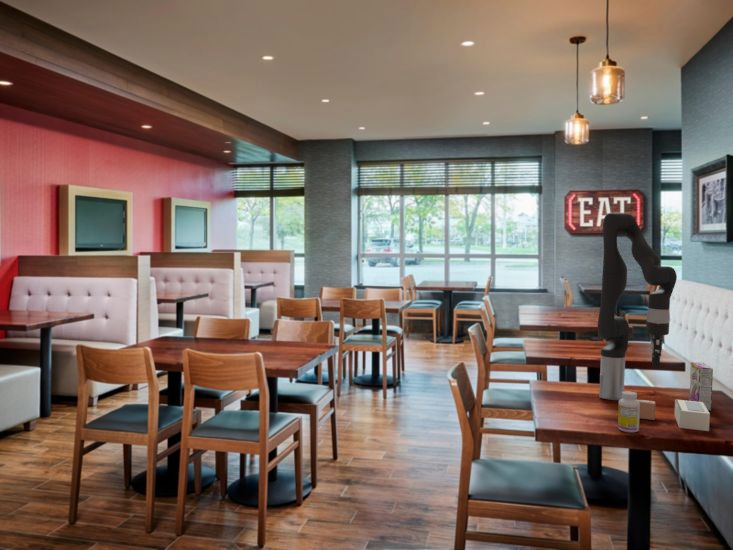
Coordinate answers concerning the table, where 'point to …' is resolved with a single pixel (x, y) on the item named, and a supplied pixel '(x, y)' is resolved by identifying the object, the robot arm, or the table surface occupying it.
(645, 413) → the tan cardboard box
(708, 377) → the candy bar box
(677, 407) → the block
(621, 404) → the supplement bottle
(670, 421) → the table surface
